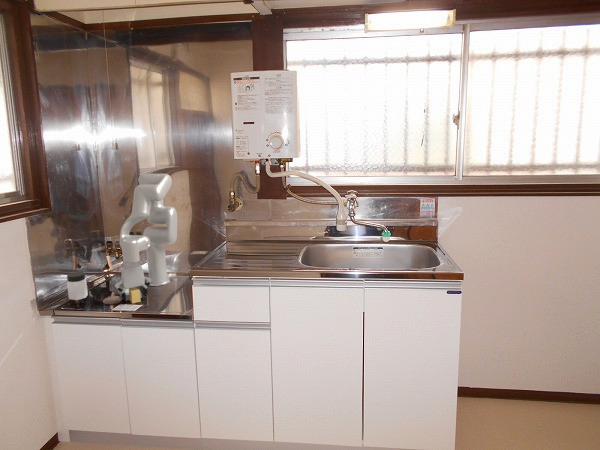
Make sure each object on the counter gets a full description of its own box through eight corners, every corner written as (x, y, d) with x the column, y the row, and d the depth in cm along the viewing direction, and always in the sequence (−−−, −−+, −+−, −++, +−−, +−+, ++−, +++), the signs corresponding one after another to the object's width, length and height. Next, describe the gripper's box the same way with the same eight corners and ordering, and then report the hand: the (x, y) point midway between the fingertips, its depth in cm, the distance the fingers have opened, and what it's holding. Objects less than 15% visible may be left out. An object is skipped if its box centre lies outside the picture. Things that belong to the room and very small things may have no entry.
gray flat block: (135, 290, 233) (135, 286, 233) (141, 297, 224) (141, 292, 223) (119, 294, 229) (119, 289, 228) (125, 301, 219) (124, 296, 219)
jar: (91, 295, 228) (89, 272, 226) (79, 300, 220) (76, 277, 218) (77, 293, 231) (75, 271, 228) (65, 299, 223) (62, 276, 221)
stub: (138, 298, 222) (136, 286, 221) (140, 301, 218) (139, 289, 217) (129, 300, 220) (128, 288, 219) (132, 303, 216) (131, 291, 215)
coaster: (120, 296, 226) (119, 294, 226) (124, 301, 219) (124, 300, 218) (101, 300, 221) (101, 298, 221) (105, 305, 214) (104, 304, 213)
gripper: (147, 259, 223) (150, 292, 227) (111, 265, 214) (114, 299, 217) (152, 263, 217) (154, 296, 221) (114, 269, 208) (118, 303, 211)
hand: (134, 297), depth 219 cm, fingers open, 9 cm apart
